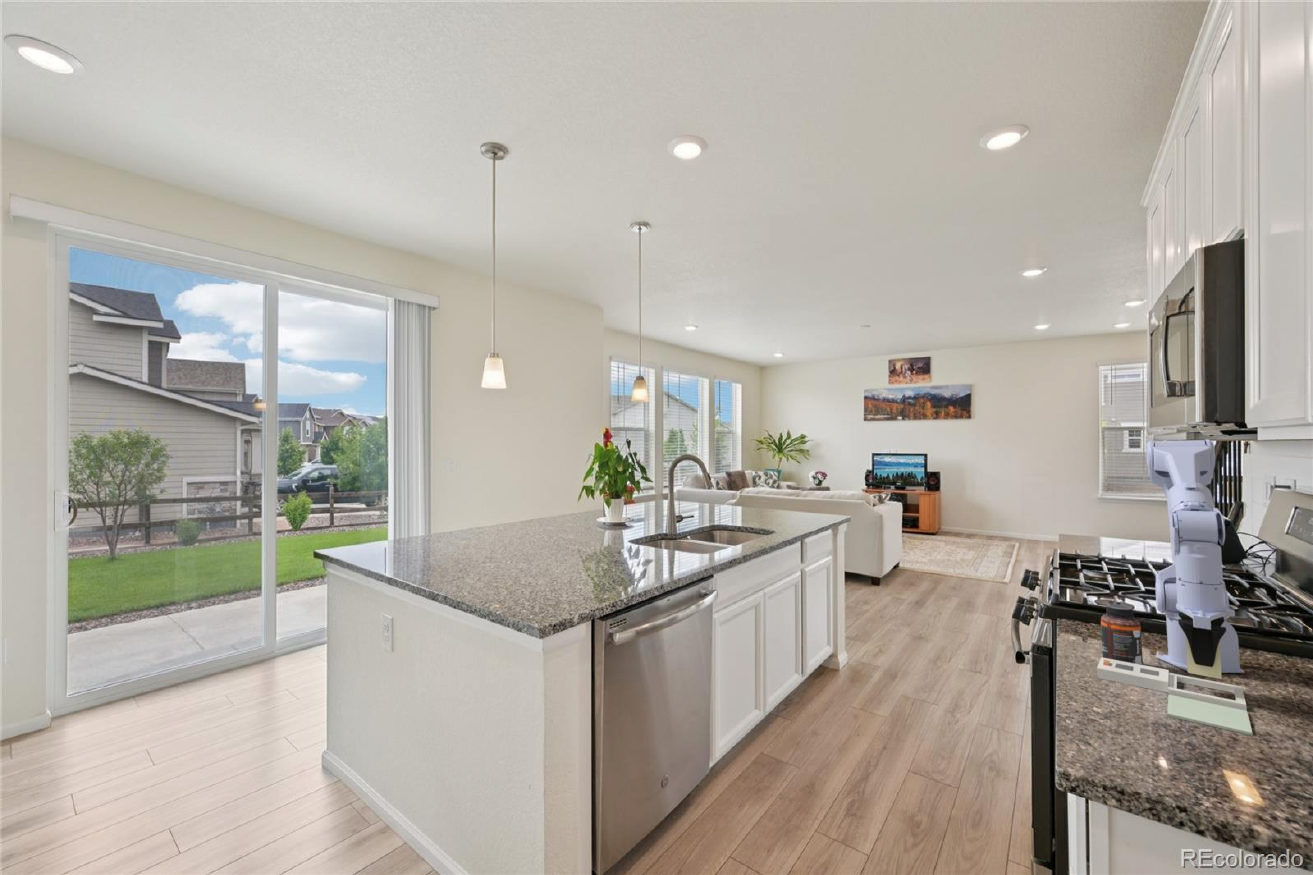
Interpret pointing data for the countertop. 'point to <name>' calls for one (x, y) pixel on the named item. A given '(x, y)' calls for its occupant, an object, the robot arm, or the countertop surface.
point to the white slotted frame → (1166, 682)
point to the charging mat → (1209, 714)
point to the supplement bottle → (1121, 634)
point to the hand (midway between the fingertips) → (1203, 661)
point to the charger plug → (1204, 670)
